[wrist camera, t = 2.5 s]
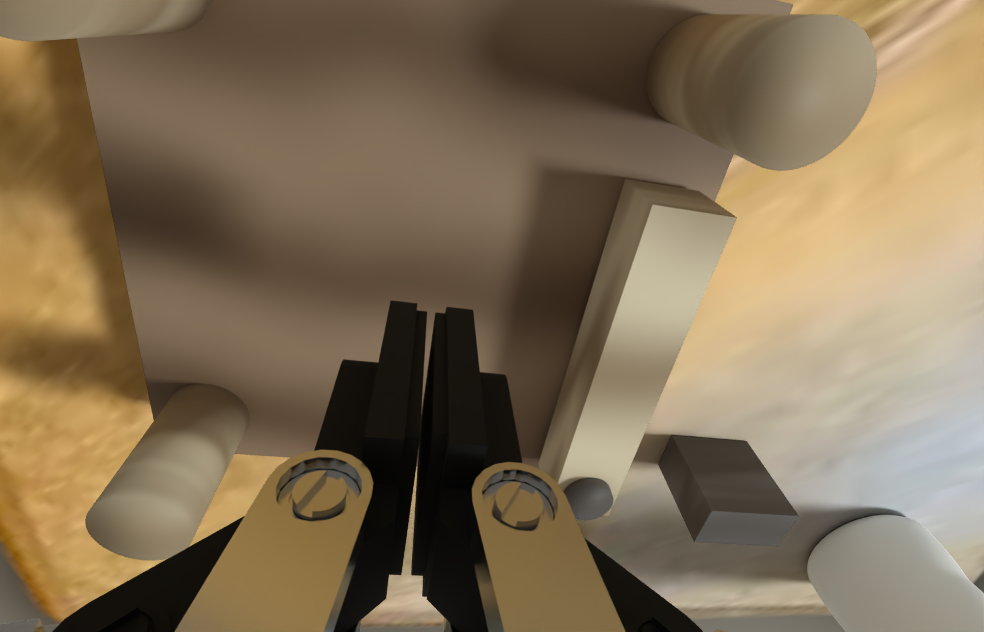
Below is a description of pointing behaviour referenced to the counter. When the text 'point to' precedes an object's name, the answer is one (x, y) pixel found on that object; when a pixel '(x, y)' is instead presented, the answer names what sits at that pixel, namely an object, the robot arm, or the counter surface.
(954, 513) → the counter surface
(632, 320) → the hinged leg
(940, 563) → the water bottle
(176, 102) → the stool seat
